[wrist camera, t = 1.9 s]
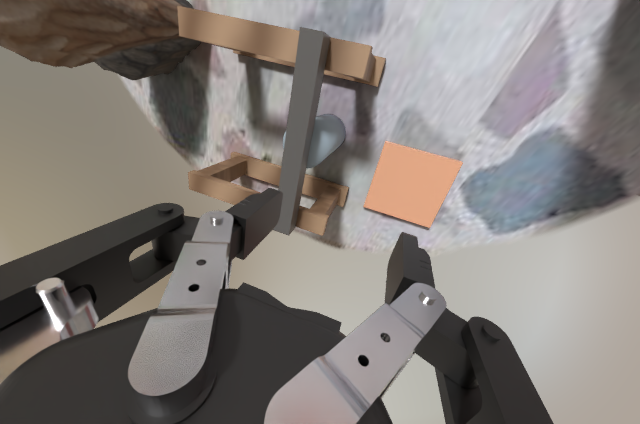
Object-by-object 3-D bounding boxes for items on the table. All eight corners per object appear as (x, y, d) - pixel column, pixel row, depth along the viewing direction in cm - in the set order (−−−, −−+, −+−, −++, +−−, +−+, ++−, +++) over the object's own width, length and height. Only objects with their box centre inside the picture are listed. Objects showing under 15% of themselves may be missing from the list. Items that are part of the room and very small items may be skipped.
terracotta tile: (461, 161, 31) (462, 162, 31) (429, 225, 36) (429, 228, 35) (385, 140, 33) (385, 141, 32) (364, 204, 38) (363, 206, 37)
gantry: (385, 59, 29) (378, 42, 20) (344, 204, 39) (325, 239, 29) (238, 27, 32) (172, 0, 23) (233, 168, 42) (186, 189, 33)
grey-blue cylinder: (349, 119, 33) (331, 127, 25) (340, 154, 36) (321, 173, 27) (315, 110, 34) (286, 115, 25) (308, 145, 36) (280, 161, 28)
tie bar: (330, 37, 20) (324, 32, 19) (295, 227, 30) (288, 235, 28) (308, 32, 21) (300, 27, 19) (280, 222, 30) (273, 229, 28)
